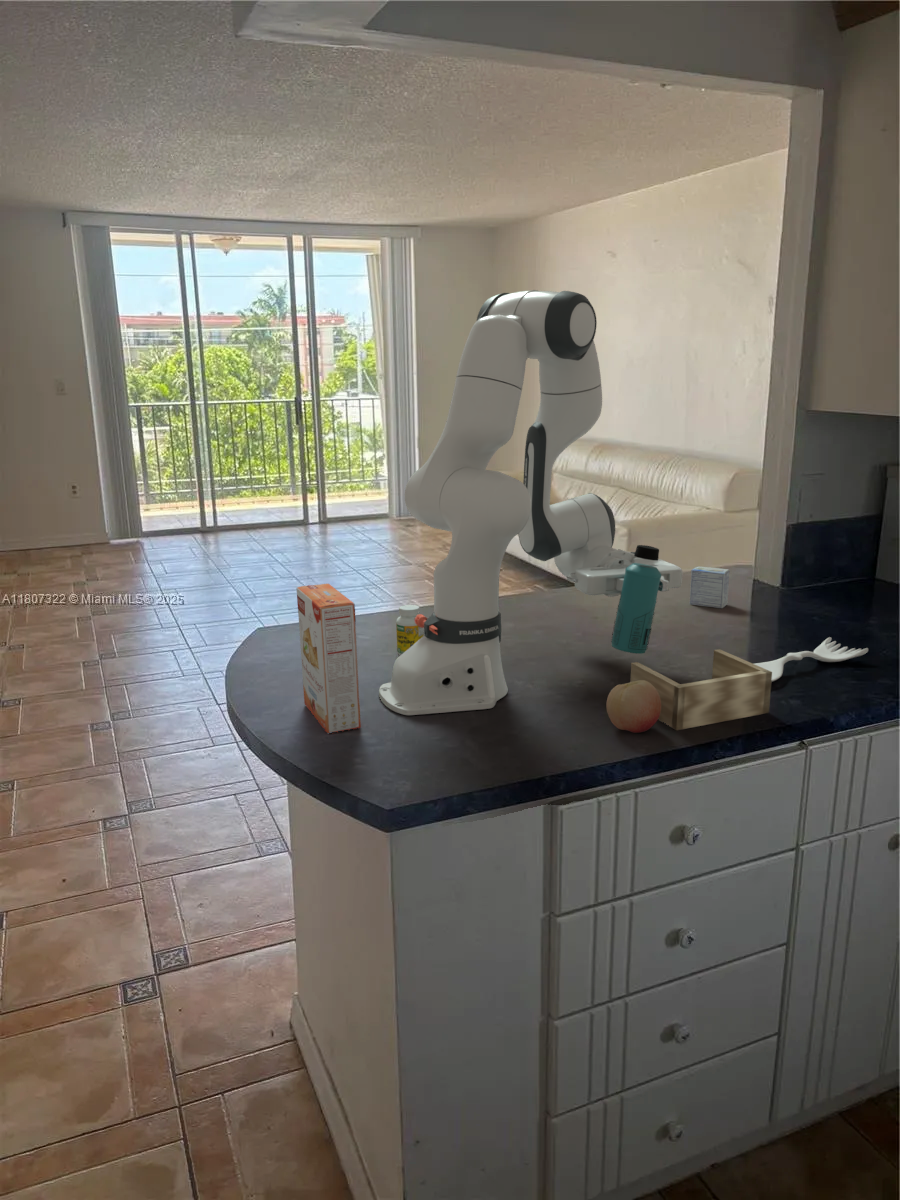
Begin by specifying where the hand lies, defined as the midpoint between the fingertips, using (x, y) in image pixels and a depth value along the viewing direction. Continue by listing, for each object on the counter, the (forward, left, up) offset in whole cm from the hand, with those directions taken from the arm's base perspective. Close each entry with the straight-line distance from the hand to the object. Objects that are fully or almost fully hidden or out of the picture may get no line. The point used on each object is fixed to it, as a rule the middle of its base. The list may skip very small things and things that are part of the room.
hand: (653, 587), depth 153 cm
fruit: (-15, -17, -18) cm, 29 cm away
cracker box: (-57, +7, -18) cm, 60 cm away
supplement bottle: (-34, +33, -18) cm, 50 cm away
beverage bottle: (-4, +1, -13) cm, 13 cm away
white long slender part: (+27, -5, -18) cm, 33 cm away
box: (0, -14, -17) cm, 22 cm away
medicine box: (+43, +39, -18) cm, 61 cm away
